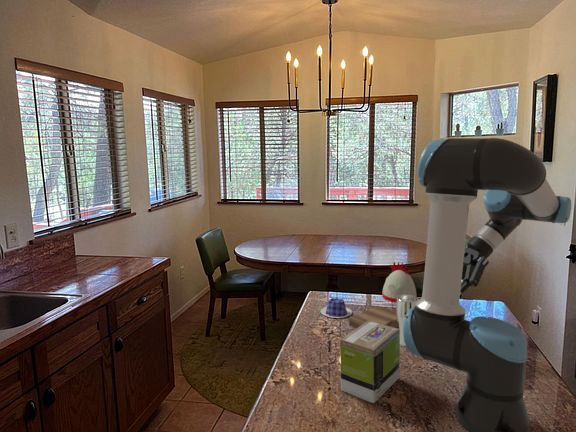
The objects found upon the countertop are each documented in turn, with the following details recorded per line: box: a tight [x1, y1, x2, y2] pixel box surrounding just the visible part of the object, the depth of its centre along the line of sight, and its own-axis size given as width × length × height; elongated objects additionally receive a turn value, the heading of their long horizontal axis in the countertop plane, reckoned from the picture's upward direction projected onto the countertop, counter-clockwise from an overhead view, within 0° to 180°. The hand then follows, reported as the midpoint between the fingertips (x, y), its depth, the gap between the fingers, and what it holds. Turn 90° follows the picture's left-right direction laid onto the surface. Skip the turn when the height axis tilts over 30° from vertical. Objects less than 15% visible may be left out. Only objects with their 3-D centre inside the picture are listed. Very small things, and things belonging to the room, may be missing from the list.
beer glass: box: [395, 295, 420, 347], centre depth 135 cm, size 7×7×15 cm
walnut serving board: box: [348, 305, 398, 329], centre depth 150 cm, size 16×12×3 cm
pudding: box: [320, 297, 353, 319], centre depth 161 cm, size 12×12×5 cm
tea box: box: [340, 321, 401, 404], centre depth 111 cm, size 15×10×15 cm, turn 141°
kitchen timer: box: [381, 261, 417, 304], centre depth 176 cm, size 14×14×15 cm
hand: (438, 290), depth 135 cm, fingers open, 13 cm apart
